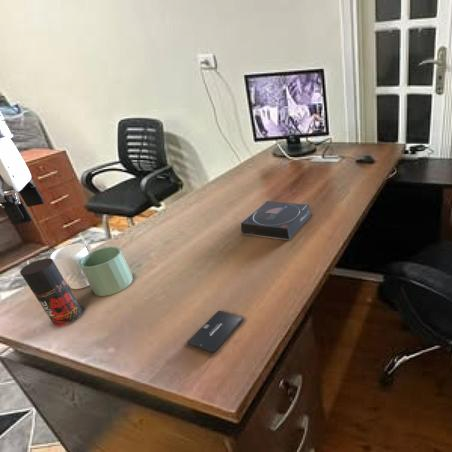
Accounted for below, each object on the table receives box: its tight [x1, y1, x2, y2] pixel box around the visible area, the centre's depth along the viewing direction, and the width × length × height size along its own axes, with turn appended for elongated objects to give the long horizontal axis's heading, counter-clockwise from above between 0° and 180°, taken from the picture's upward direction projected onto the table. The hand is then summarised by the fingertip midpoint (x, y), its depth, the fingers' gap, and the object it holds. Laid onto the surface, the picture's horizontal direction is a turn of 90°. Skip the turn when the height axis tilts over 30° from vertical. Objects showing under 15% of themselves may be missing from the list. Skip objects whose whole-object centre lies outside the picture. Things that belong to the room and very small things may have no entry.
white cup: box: [49, 242, 90, 290], centre depth 94 cm, size 8×8×10 cm
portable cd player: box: [240, 200, 312, 241], centre depth 114 cm, size 16×17×4 cm
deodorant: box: [19, 257, 83, 327], centre depth 80 cm, size 6×6×15 cm
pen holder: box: [79, 246, 134, 297], centre depth 92 cm, size 9×9×9 cm
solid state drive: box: [186, 310, 244, 354], centre depth 75 cm, size 7×10×1 cm
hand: (30, 213), depth 75 cm, fingers open, 9 cm apart
